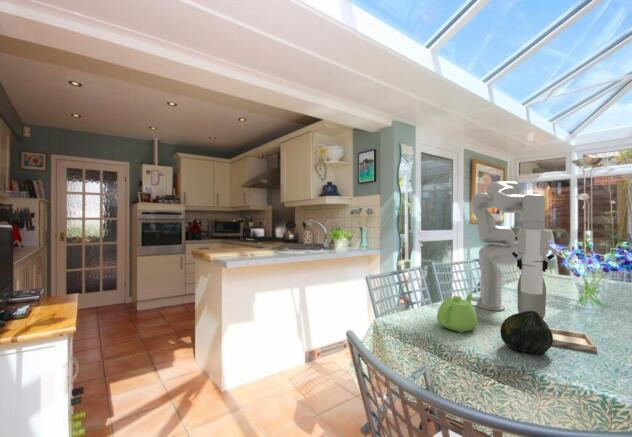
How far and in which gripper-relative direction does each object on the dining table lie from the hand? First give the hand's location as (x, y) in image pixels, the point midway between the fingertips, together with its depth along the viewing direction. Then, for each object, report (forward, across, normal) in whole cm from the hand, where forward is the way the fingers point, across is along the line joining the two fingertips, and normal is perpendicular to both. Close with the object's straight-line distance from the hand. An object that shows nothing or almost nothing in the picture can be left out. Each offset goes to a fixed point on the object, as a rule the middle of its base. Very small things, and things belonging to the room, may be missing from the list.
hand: (531, 269), depth 122 cm
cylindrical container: (+9, 0, 0) cm, 9 cm away
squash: (+26, -2, -18) cm, 32 cm away
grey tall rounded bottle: (+26, +1, +18) cm, 32 cm away
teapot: (+26, -26, -7) cm, 37 cm away
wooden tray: (+26, +11, -1) cm, 28 cm away
